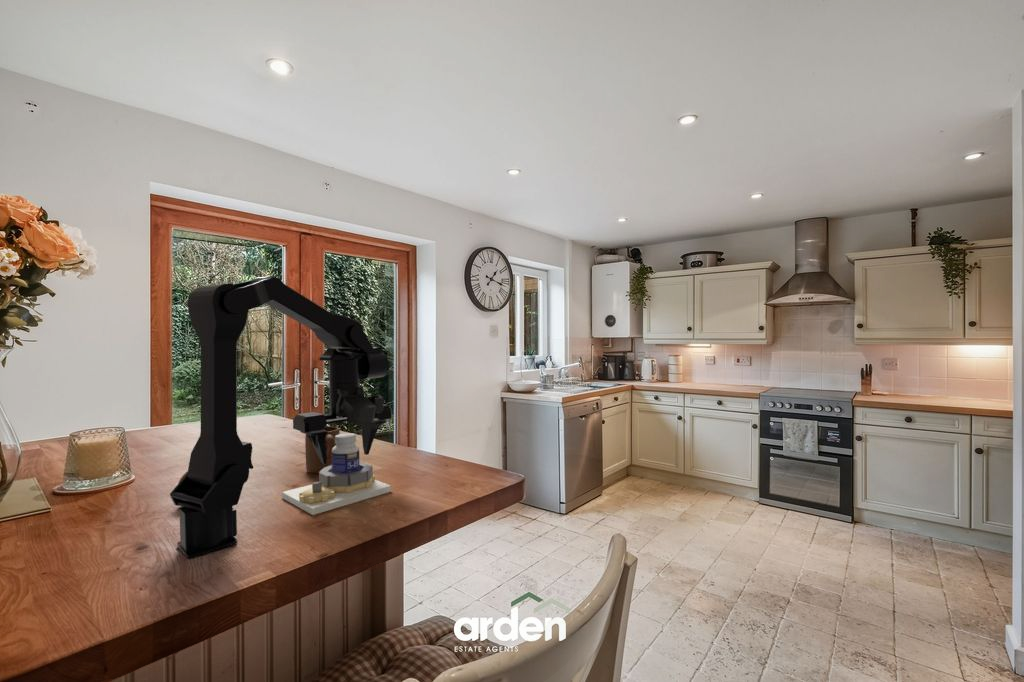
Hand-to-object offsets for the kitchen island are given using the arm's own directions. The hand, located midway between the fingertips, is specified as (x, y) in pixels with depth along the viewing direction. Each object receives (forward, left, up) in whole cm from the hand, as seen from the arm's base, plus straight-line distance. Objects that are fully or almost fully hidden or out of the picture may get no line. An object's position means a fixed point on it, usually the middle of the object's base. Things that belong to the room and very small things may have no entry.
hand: (346, 459), depth 97 cm
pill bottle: (0, 0, -4) cm, 4 cm away
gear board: (-2, -1, -6) cm, 7 cm away
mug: (+4, +16, -7) cm, 18 cm away
